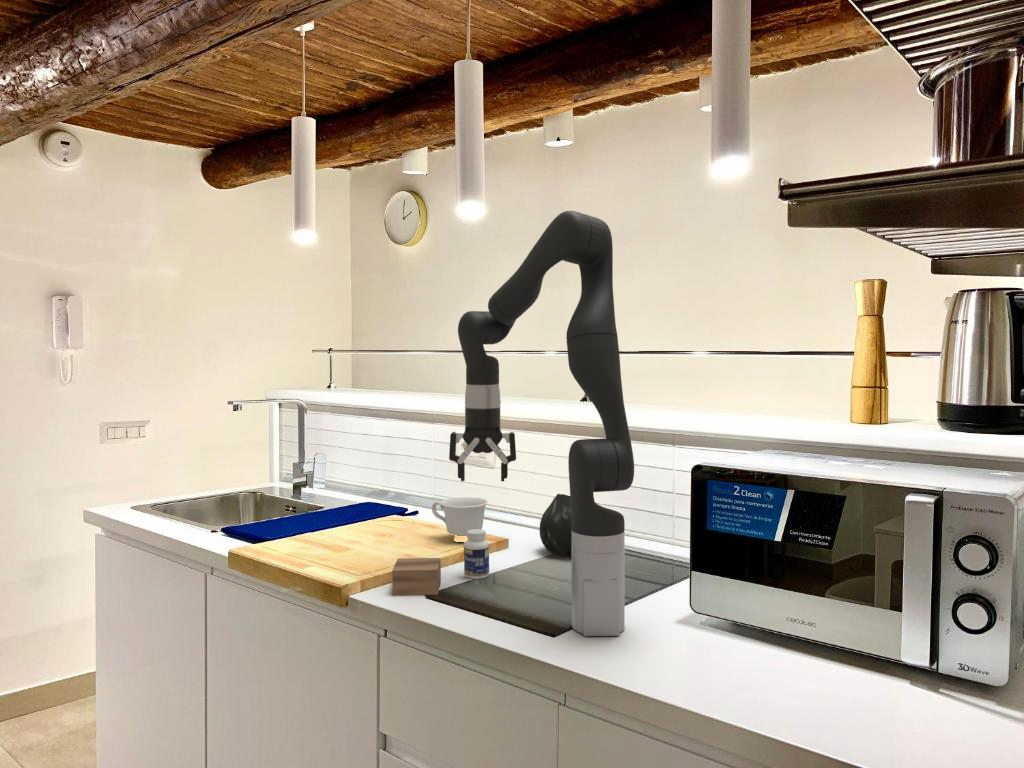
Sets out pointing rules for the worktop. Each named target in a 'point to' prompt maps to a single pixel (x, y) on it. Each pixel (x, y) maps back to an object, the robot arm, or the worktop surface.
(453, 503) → the teacup
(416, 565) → the plinth
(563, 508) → the squash
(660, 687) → the worktop surface
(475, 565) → the pill bottle
